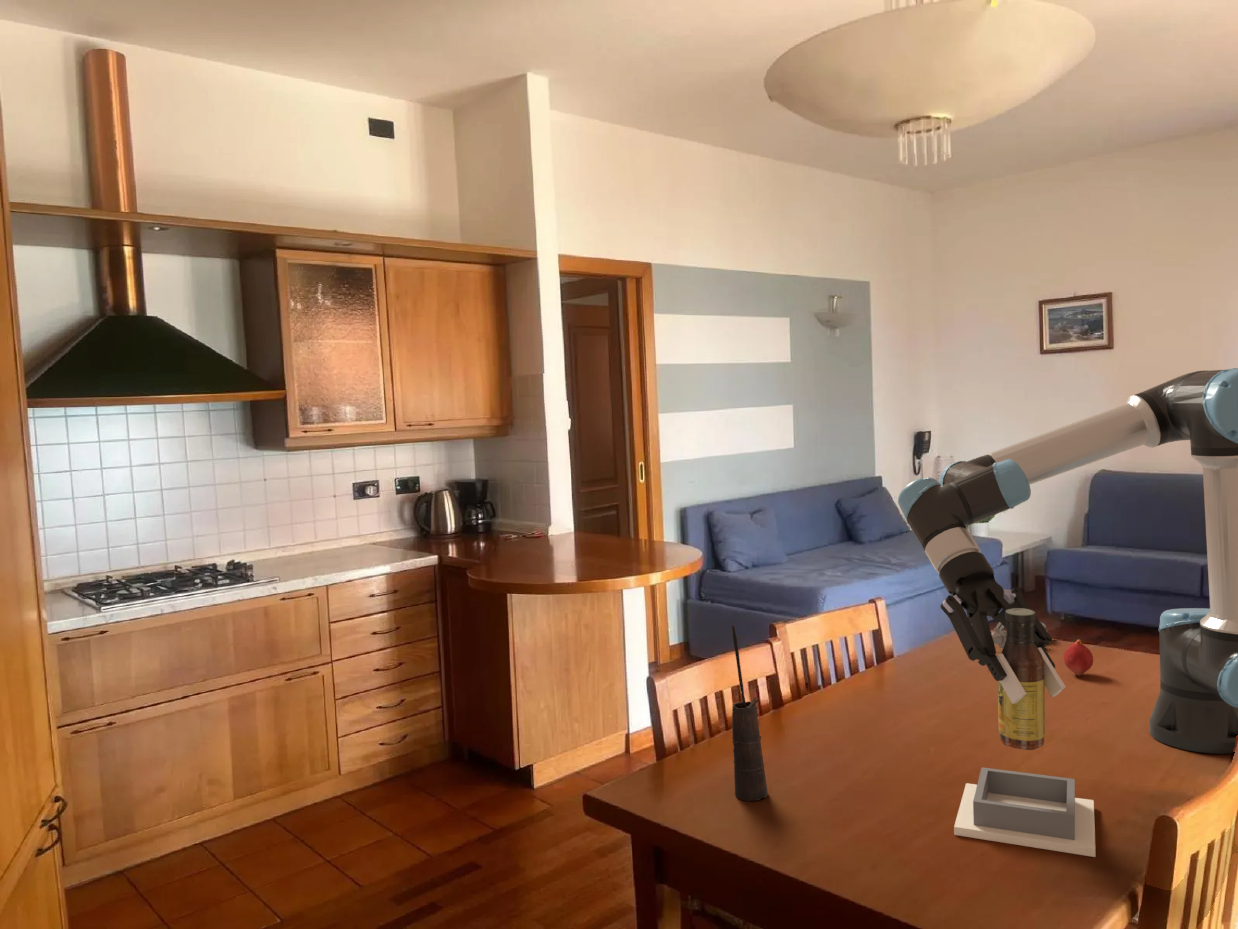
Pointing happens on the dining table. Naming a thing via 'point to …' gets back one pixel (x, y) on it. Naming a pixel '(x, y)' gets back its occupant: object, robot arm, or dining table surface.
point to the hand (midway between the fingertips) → (1038, 695)
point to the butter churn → (747, 745)
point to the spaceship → (1002, 635)
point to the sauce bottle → (1023, 684)
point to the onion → (1078, 658)
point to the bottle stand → (1027, 812)
